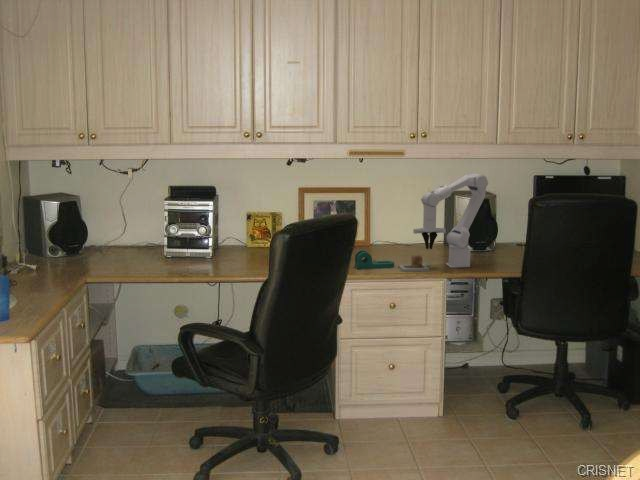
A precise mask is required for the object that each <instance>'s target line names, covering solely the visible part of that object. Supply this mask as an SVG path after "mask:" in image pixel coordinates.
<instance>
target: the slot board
mask: <svg viewBox="0 0 640 480" xmlns="http://www.w3.org/2000/svg"><path fill="white" fill-rule="evenodd" d="M411 265H412V263H410V264H398V269H399V270H401V272H403V273H406V272H407V273H409V272H411V273H412V272H413V273H414V272H430V268H429V266H426V265H424V264H422V268H411Z"/></svg>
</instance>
